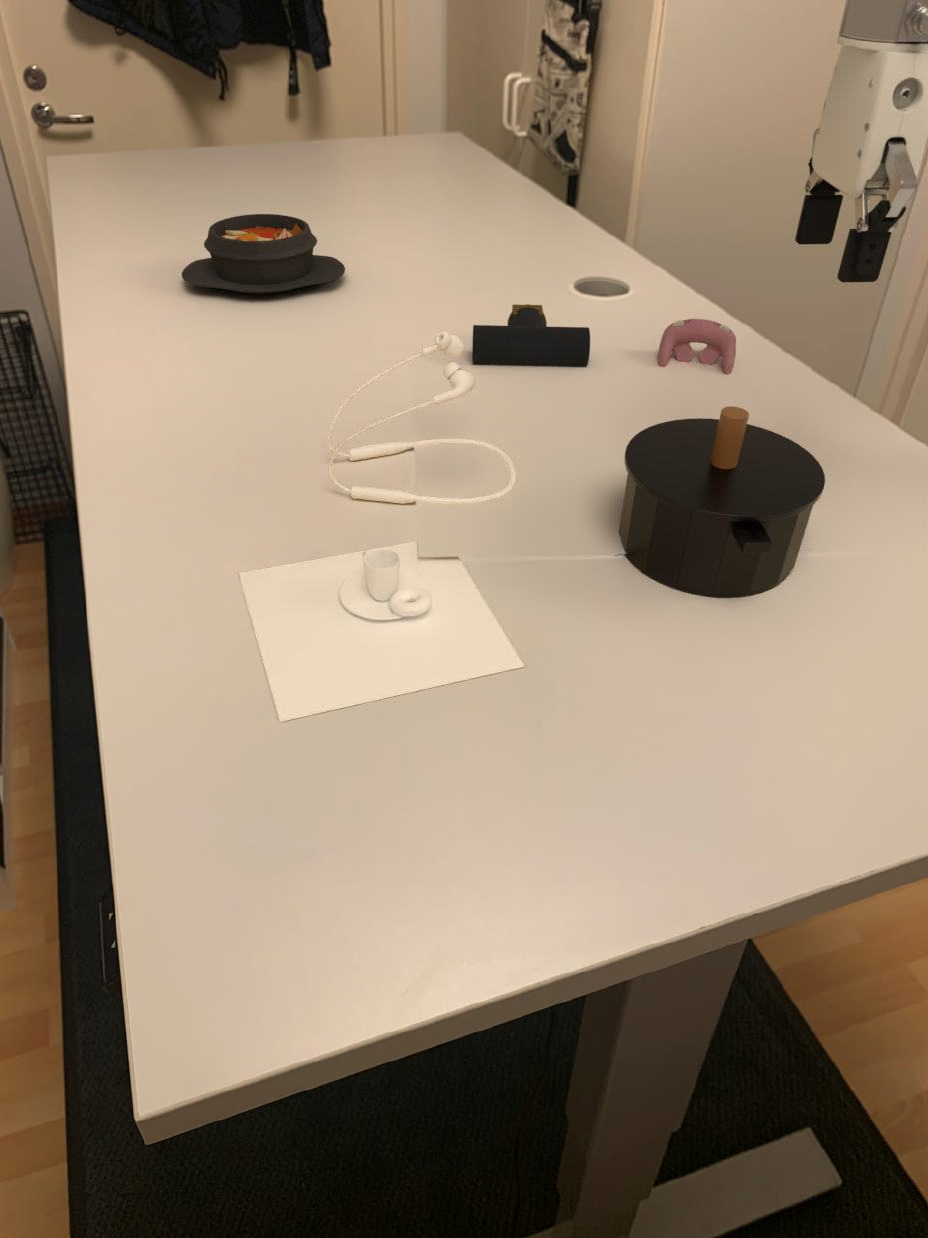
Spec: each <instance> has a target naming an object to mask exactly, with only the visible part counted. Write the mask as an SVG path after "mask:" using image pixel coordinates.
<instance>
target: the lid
mask: <svg viewBox="0 0 928 1238" xmlns="http://www.w3.org/2000/svg"><path fill="white" fill-rule="evenodd" d="M719 414H720V415H719V418H704V417H703V418H702V417H701V418H700V417H698V418H695V417H694V418H681V419H673V420H669V421H664V422H660V423H656V424H654V425H651V426H648V427H646V428H644V429H642V430H640V431H639V432H638V433H636V434H635V435H634V436H633V437H631V439H630V440H629V442H628V444H627V445H626V447H625V451H624V467H625V470H626V471H627V475H628V474H629V476H630V477H631V478H632V480H633V481H634V482H635V483H636V484H637V485H638V486H639V487H640V488H641V489H642V490H644V491H645V492H647V493H648V494H649V495H651V496H652V497H654V498H656V499H658V500H659V501H661V502H663V503H665V504H667V505H670V506H672V507H674V508H677V509H680V510H682V511H685V512H689V513H692V514H695V515H699V516H704V517H708V518H714V519H720V520H728V521H739V522H757V521H770V520H777V519H782V518H786V517H790V516H793V515H796V514H799V513H801V512H803V511H805V510H807V509H808V508H810V507H811V506H812V505H813V506H814V505H815V504H816V503H817V501H819V499H820V498H821V496H822V495H823V492H824V490H825V486H826V475H825V472H824V469H823V467H822V466H821V464H820V462H819V461H818V460H817V458H816V457H815V456H814V455H813V454H812V453H811V452H809V451H808V450H807V449H806V448H805V447H803V446H802V445H800V444H799V443H797V442H795V441H794V440H792V439H790V438H788V437H785V435H782V434H779V433H777V432H774V431H772V430H770V429H766V428H764V427H760V426H757V425H753V424H749V423H748V422H749V417H750V413H749V411H748V410H747V409H744V408H743V407H739V406H725V407H723V408H722V409H721V410H720V413H719Z"/></svg>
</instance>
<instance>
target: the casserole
mask: <svg viewBox="0 0 928 1238" xmlns="http://www.w3.org/2000/svg"><path fill="white" fill-rule="evenodd" d="M317 243H318V239H317V237H316V236H315V235H314V234H313V233H312V231H311V227H310V225H309V223H308V222H306V221H305V220H303V219H301V218H297V217H294V216H291V215H290V216H289V215H283V214H275V213H274V214H273V213H254V214H253V213H252V214H242V215H236V216H231V217H229V218H228V217H227V218H224V219H221V220H218V221H216V222H214V223H213V224H212V225H209V228H208V232H207V238H206V239H205V240H204V242H203V248H205V250H206V251H207V252H208V253H209V254H210V255H209V256H210V257H206V258H201V259H197V260H194V261H192V262H190V263H189V264H187V265H186V266H185V267H184V268H183V269H182V272H181V278H182V279H183V281H184V282H185V283H187V284H188V285H191V286H194V287H198V288H207V289H208V288H209V289H221V290H228V291H234V292H238V293H243V294H249V295H275V294H281V293H285V292H290V291H293V290H295V288H296V289H298V288H303V287H308V286H314V285H321V284H327V283H332V282H335V281H337V280H338V279H340V278H342V277H343V276H344V274H345V273H346V267H345V264H343V263H342V261H340V260H339V259H337V258H335V257H333V256H329V255H319V254H314V248H315V247H316V246H317ZM292 289H293V290H292ZM274 293H275V294H274Z"/></svg>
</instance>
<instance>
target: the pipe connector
mask: <svg viewBox="0 0 928 1238" xmlns="http://www.w3.org/2000/svg"><path fill="white" fill-rule="evenodd" d="M547 323H548V322H547V318H546V315H545V313H544V309H543V305H542V304H529V303H527V304H514V303H513V304H512V308H511V312H510V314H509V315H508V319H507V325H494V324H491V325H490V324H473V325H472V348H471V349H472V351H471V352H472V355H471V357H472V358H471V359H472V365H488V366H489V365H490V366H491V365H492V366H535V367H537V366H539V367H540V366H541V367H588V364H589V360H590V353H591V352H590V351H591V330H590V327H587V326H586V327H585V326H547V325H548V324H547Z"/></svg>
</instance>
